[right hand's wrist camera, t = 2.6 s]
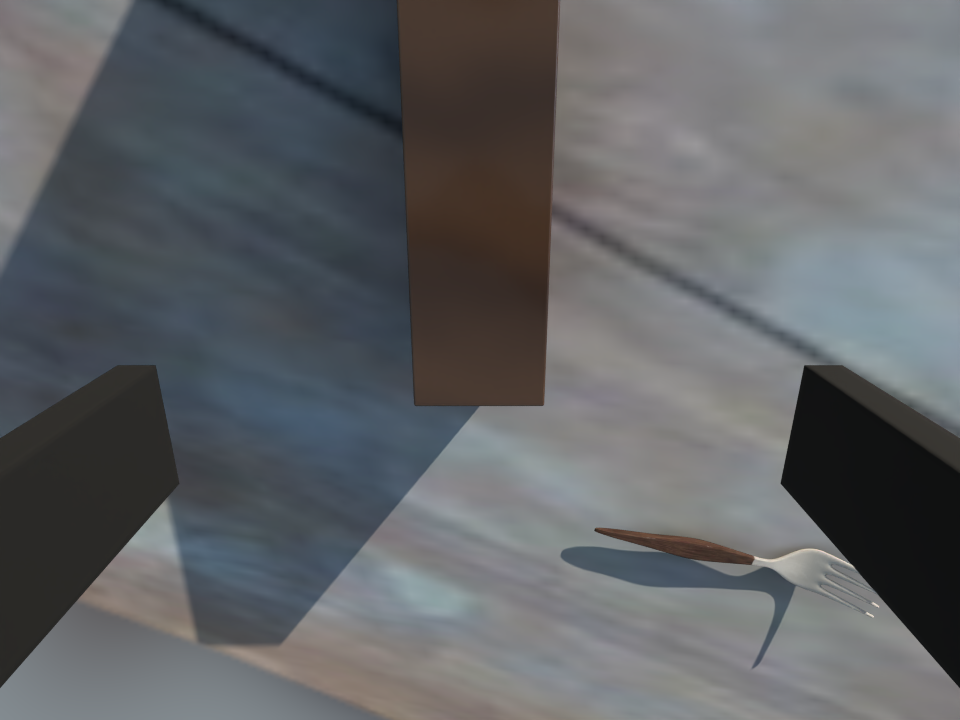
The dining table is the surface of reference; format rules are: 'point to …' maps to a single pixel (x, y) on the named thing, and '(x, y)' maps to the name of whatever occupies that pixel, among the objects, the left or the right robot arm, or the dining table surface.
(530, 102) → the plank
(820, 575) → the fork
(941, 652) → the right robot arm
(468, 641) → the dining table surface
